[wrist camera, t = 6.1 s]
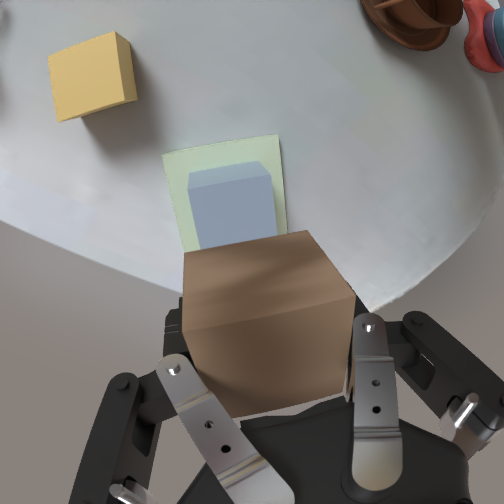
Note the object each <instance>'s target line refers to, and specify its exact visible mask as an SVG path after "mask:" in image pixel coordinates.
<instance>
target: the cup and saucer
mask: <svg viewBox="0 0 504 504" xmlns="http://www.w3.org/2000/svg"><path fill="white" fill-rule="evenodd" d="M361 3H362V5H363V7H364V9H365V10H366V12H367V14H368V15H369V17H370V18H371V19H372V21H373V22H374V23H375V24H376V25H377V27H378V28H379V29H380V30H381V31H382V32H383V33H385V34H386V35H387V36H388V37H389V38H391V39H392V40H394V41H395V42H397V43H399V44H400V45H402V46H405V47H407V48H410V49H414V50H419V51H429V50H433V49H436V48H438V47H439V46H441V45H442V44H443V43H444V42H445V40H446V39H447V37H448V35H449V32H450V27H451V26H454V25H456V24H457V23H459V21H460V20H461V18H462V15H463V2H462V0H361Z"/></svg>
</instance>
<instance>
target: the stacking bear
mask: <svg viewBox="0 0 504 504" xmlns="http://www.w3.org/2000/svg"><path fill="white" fill-rule="evenodd" d="M463 5H464V8H465V11H466V13H467V16H468V19H469V34H468V36H467V37H466V39H465V52H466V55H467V57H468V59H469V61H470V62H471V63H472V64H473V65H474V66H475V67H477V68H479V69H481V70H483V71H486V72H491V73H497V72H502V71H504V7H500V8H498V9H496V10H495V9H494V8H493V7H492V6H491V5H490V4H488V3H487V2H486V1H485V0H464V1H463Z"/></svg>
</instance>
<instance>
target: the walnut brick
mask: <svg viewBox="0 0 504 504" xmlns="http://www.w3.org/2000/svg"><path fill="white" fill-rule="evenodd" d="M355 300H356V295H355V293H354V292H353V290H352V289H351V288H350V286H349V285H348V284H347V282H346V281H345V279H344V278H343V277H342V275H341V274H340V273H339V271H338V270H337V269H336V267H335V266H334V265H333V263H332V262H331V261H330V259H329V258H328V257H327V255H326V254H325V253H324V251H323V250H322V249H321V248H320V246H319V245H318V244H317V242H316V241H315V240H314V238H313V237H312V236H311V235H310V233H309V232H308V231H307V230H305V231H299V232H293V233H288V234H282V235H277V236H271V237H266V238H260V239H255V240H249V241H244V242H239V243H233V244H228V245H222V246H217V247H212V248H206V249H201V250H196V251H191V252H185V253H184V272H183V304H182V333H183V336H184V339H185V341H186V344H187V347H188V349H189V352H190V355H191V357H192V360H193V362H194V365H195V367H196V370H197V372H198V375H199V377H200V378H201V380H202V381H203V383H204V384H205V386H206V387H207V389H208V390H209V391H210V390H211V391H212V392H213V393H214V395H215V396H216V398H217V399H218V400H219V402H220V403H221V405H222V406H223V407H224V409H225V410H226V411H227V413H228V414H229V416H230V417H231V418H236V417H242V416H248V415H253V414H258V413H263V412H268V411H272V410H277V409H281V408H285V407H290V406H294V405H298V404H302V403H306V402H309V401H313V400H317V399H320V398H324V397H327V396H331V395H334V394H337V393H340V392H342V390H343V385H344V379H345V372H346V367H347V361H348V355H349V348H350V341H351V334H352V326H353V318H354V309H355Z"/></svg>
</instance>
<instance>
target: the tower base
mask: <svg viewBox="0 0 504 504" xmlns="http://www.w3.org/2000/svg"><path fill="white" fill-rule="evenodd" d="M162 159H163V163H164V168H165V173H166V177H167V182H168V186H169V191H170V195H171V200H172V204H173V208H174V212H175V217H176V221H177V225H178V229H179V233H180V237H181V241H182V245H183V249H184V253H185V252H191V251H196V250H201V249H206V248H212V247H217V246H222V245H228V244H233V243H239V242H244V241H249V240H255V239H260V238H266V237H271V236H277V235H282V234H287V222H286V211H285V199H284V188H283V177H282V167H281V157H280V147H279V138H278V135H277V134H274V135H266V136H259V137H251V138H244V139H238V140H232V141H225V142H220V143H214V144H208V145H203V146H197V147H192V148H187V149H182V150H178V151H173V152H168V153H164V154H162Z"/></svg>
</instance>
